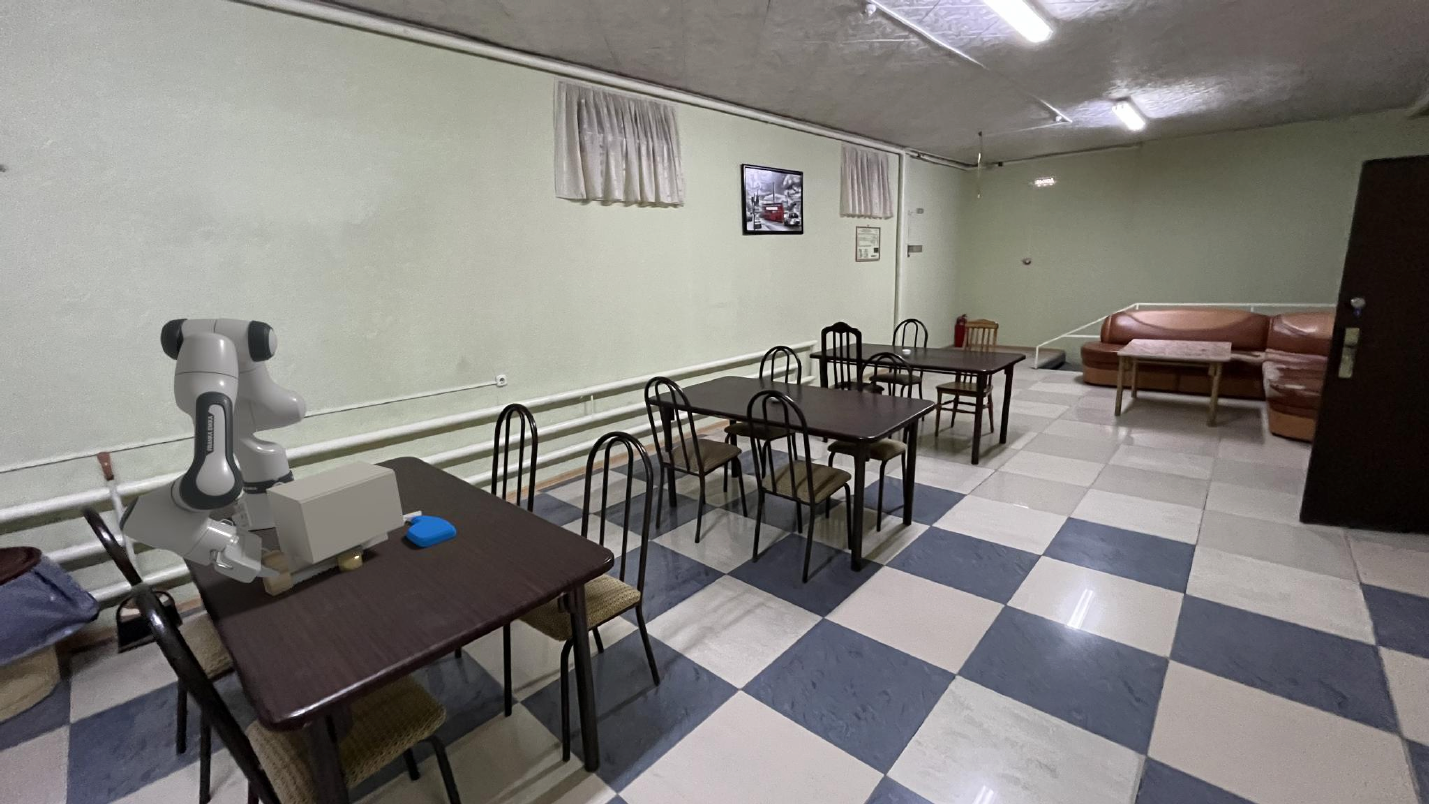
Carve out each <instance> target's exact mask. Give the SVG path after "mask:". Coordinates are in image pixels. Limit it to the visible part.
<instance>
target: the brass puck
mask: <svg viewBox="0 0 1429 804" xmlns="http://www.w3.org/2000/svg"><path fill="white" fill-rule="evenodd" d="M337 560H338V564H339V565H338V568H339V571H341V572H351V571H353V570H356V569H358V568H360V567H361V566H362V565H363V563H364V562H363V558H362V555H361V552H360V551H350V552H347V553H344V554H342V555H340V556H339V557H338V558H337ZM355 568H356V569H355Z"/></svg>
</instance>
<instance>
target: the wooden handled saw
mask: <svg viewBox="0 0 1429 804" xmlns="http://www.w3.org/2000/svg"><path fill="white" fill-rule="evenodd" d="M350 551H360V552H361V556H362V555H364V553H365V552H364V550H363V548H362V546H361V545H357V546H354V547H352V548H350V549H347V550H345V551H343V552H340V553H338V554H336V555H333V556H331V557H329V558H326V559H324V560H322V561H319V562H317V563H315V564H311V565H308V566H306V567H304V568H301V569H299V570H297V571H294V572H292V573H290V572H289V568H288V564H287V560H286V555H285V553H283V552H281V550H279V549H275V550H274V549H273V550H272V551H270V552H269V553H266V554H264V555H261V565H264V566H265V567H267V568H271V569H272V568H275V569H278V570H279V571H280V574H279V576H278V577H277V578H276V579H271V578H268V577H261V578H262V582H263V586H264V589H265V592H266V593H268V594H270V596H273V597H275V596H277V595H279V594H282V593H284V592H286V591H288V590H291V589H293V588H294V585H297V584H299V583H301V582H303V580H304V581H306V580H308V579H311V578H313V577H315V576H317V575H319V574H318V573H320V574H322V573H323V572H322V571H324V572H326V571H329V570H330V569H329V568H331V569H333V568H335V566H336V567H337V566H338V567H339V564H338V560H337V558H338V557H339V556H340V555H342V554H344V553H347V552H350ZM328 569H329V570H328ZM321 572H322V573H321ZM314 575H315V576H314ZM312 576H313V577H312ZM298 582H299V583H298ZM292 587H293V588H292ZM290 588H291V589H290ZM283 591H284V592H283Z"/></svg>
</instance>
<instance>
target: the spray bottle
mask: <svg viewBox="0 0 1429 804" xmlns="http://www.w3.org/2000/svg"><path fill="white" fill-rule="evenodd" d="M403 519H404V523H406V522H410V523H411V524H412V525H411V526H410V527H409V529H408V530H406V535H405V536H406V538H407V539H408V540H409V541H410V542H411V543H413V544H415V545H417V546H418V547H421V548H427V547H431V546H434V545H437V544H440V543H443V542H445V541H448V540H450V539H453V538H455V537H456V534H457V529H456V528H455V526H454V525H452V524H451V523H450V522H449V521H447V520H445V519H443V518H440V517H437V516H429V515H423V514H422V511H421V510H418V511H413V512H410V513H406V514H404V515H403Z"/></svg>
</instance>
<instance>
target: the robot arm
mask: <svg viewBox="0 0 1429 804" xmlns="http://www.w3.org/2000/svg"><path fill="white" fill-rule="evenodd" d="M159 340H160V345H161V348H162V351H163V352H164V354H165V355H166V356H168V357H169V358H170V359H171V360H174V361H176V364H175V369H174V378H173V394H174V398H175V399H174V400H175V405H176V406H177V407H178V409H180V411H182V412H183V413H185V414H187V415H188V416H189V417H190V418H191V421H192V424H193V427H194V430H193V431H194V432H193V433H194V434H193V458H192V462H191V464H190V467H189V468H188V469H187V470H186V472H185V473H183V474H181V475H179V476H178V477H177V478H175V479H173V480H172V481H170V482H168V483H167V484H165V485H163V486H161V487H158V488H156V489H154V490H153V491H151V492H148V493H145V494H141V495H137V496H136V497H134V498H133V500H131V501H130V503H129V505H128V506H127V507H126V509H125V510H124V513H122V516H121V517H120V521H119V523H118V526H119V530H120V532H121V533H122V534H123V535H125V536H127V537H128V538H130V539H132V540H134V541H137V542H139V543H141V544H144V545H146V546H149V547H152V548H154V549H157V550H164V551H170V552H172V553H174V554H175V555H177V556H179V557H180V558H183V559H186V560H188V561H192V562H195V563H197V564H200V565H203V566H205V567H207V566H208V565H210V564H213V568H214V570H215V571H216V572H218V573H220V574H222V575H224V576H225V577H226V576H227V577H229V578H231V579H233V580H235V581H239V582H241V583H244V584H245V583H246V584H247V583H248V584H249V583H252V582H253V581H254V579H256V577H258V578H262V577H268V578H271V579H276V578H277V577H278V576H279V574H280V571H279V570H278V569H275V568H272V569H271V568H267V567H265V566H264V565H261V555H264V554H266V553H269V552H271V551H270V550H268V549H267V548H265V547H264V546H262V543H263V542H262V541H263V539H262V538H261V537H260V536H259V535H256V534H255V533H253V532H251V531H254V530H263V529H270V528H275V524H274V520H273V516H272V512H271V507H270V503H269V499H268V495H267V491H266V489H269V488H272V487H275V486H278V485H282V484H285V483H288V482H291V481H295V478H294V477H295V476H294V473H293V471H292V470H291V469H290V466H289V461H288V456H287V452H286V450H285V448H284V446H283V445H281V444H279V443H277V442H274V441H269V440H265V439H264V440H263V439H259V438H257V436H255V435H254V434H255V433H257V432H263V431H269V430H275V429H281V428H285V427H288V426H291V425H295V424H298V423H300V422H302V421H303V419H304V418H305V416H306V414H307V404H306V401H305V399H304V398H303V397H302V396H301V395H300V394H299V393H297V392H295V391H294V390H289V389H286V388H284V387H282V386H280V385H278V384H277V383H276V382H275V381H273V380H272V378H271V376H270V374H269V371H268V369H267V364H266V362H265V361H268V360H270V359H271V358H273V357H274V356H275V352H276V350H277V347H278V338H277V334H276V332H275V330H274V328H273V327H272V326H271V325H269V324H268V323H267V322H265V321H258V320H251V321H250V320H242V319H235V318H224V317H223V318H221V317H220V318H195V319H194V318H193V319H188V318H186V317H185V318H177V319H170V320H169V321H167V322H166V323H165V324H164V325H163V326H162V328H161V332H160V337H159ZM234 457H235V458H236V459H235V458H234ZM235 460H237V463H238V466H239V467H238V466H237V463H236V461H235ZM242 492H243V493H242ZM241 493H242V494H241ZM240 495H241V496H240ZM239 496H240V497H239ZM236 500H237V504H234V505H233V511H234V513H235V514H233V515H231V520H232V521H231V520H228V519H225V518H223V519H220V520H214V519H213V518H210V517H209V515H210V514H211V513H212V511H214V510H218V509H223V508H225V507H228V506H229V505H231V504H233V502H235V501H236Z"/></svg>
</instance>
